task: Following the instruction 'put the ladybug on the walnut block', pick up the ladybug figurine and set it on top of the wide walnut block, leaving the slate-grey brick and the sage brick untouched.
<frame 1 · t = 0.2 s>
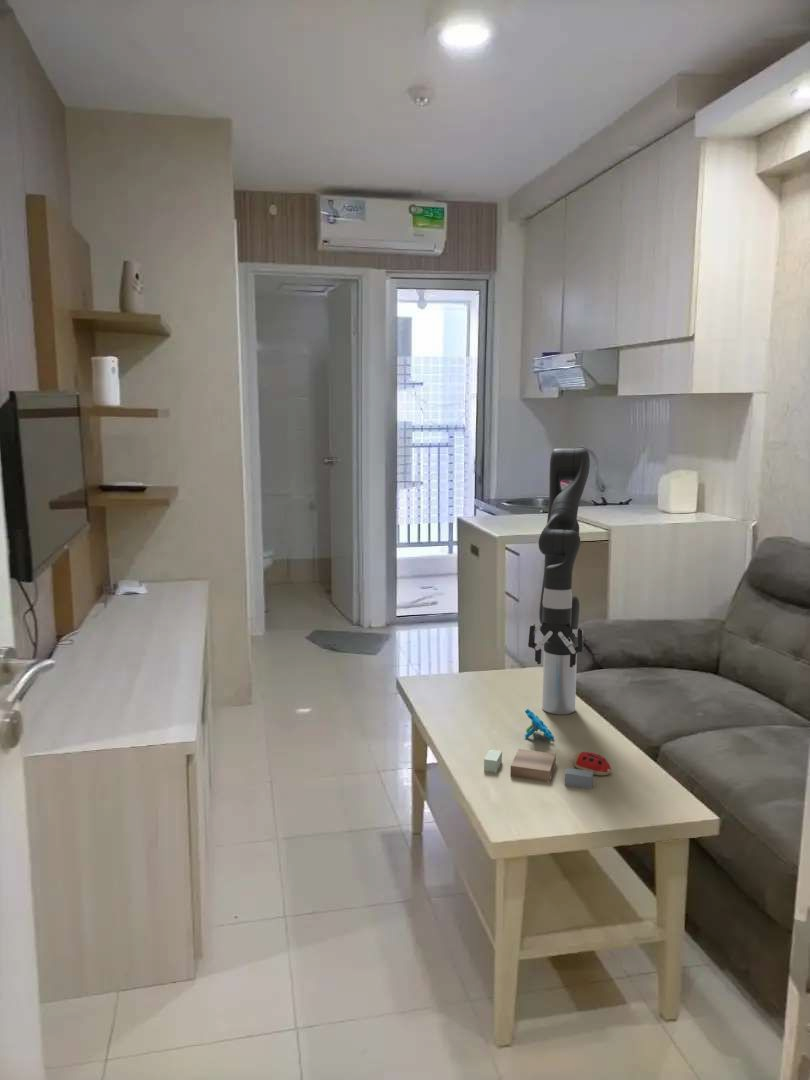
hand: (555, 665, 211), 17 cm above the table, tool pointing down, fingers open, 8 cm apart
sage brick: (492, 766, 190), on the table
slate brick: (578, 784, 181), on the table
walnut block: (533, 771, 188), on the table
gear: (538, 738, 208), on the table
ladybug figurine: (591, 770, 189), on the table
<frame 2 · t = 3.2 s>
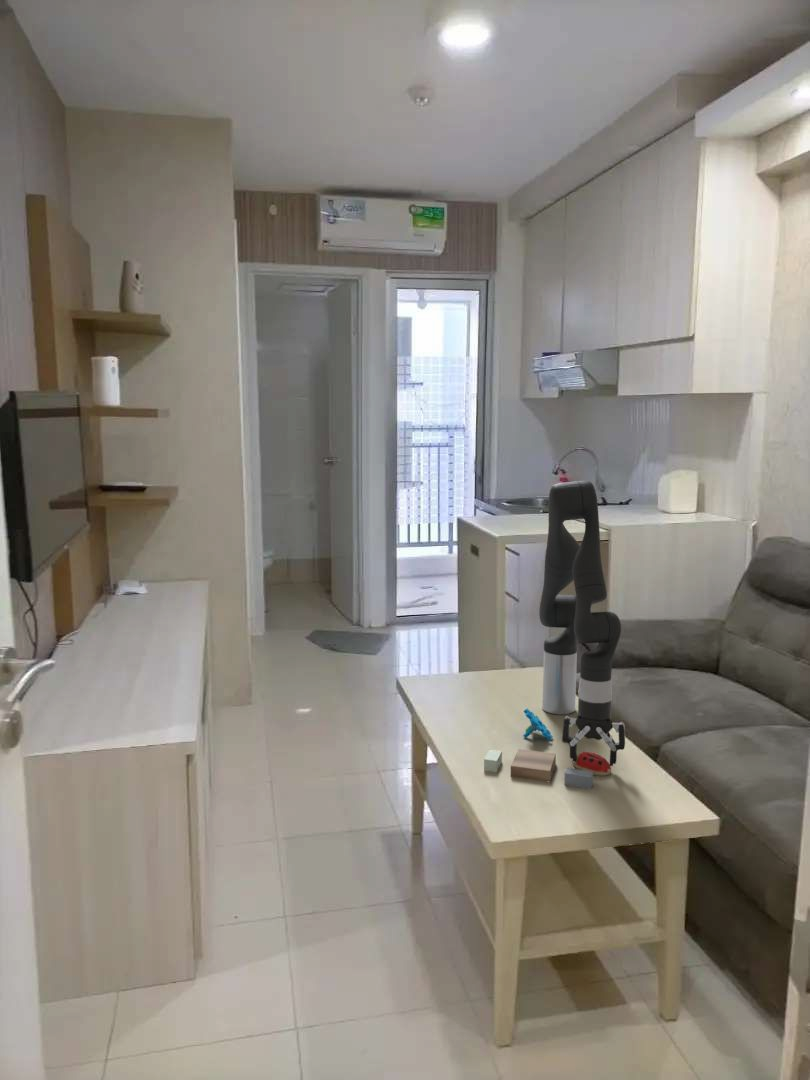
hand: (592, 762, 188), 2 cm above the table, tool pointing down, fingers open, 8 cm apart
ladybug figurine: (591, 770, 189), on the table, touching gripper
everything else where it was.
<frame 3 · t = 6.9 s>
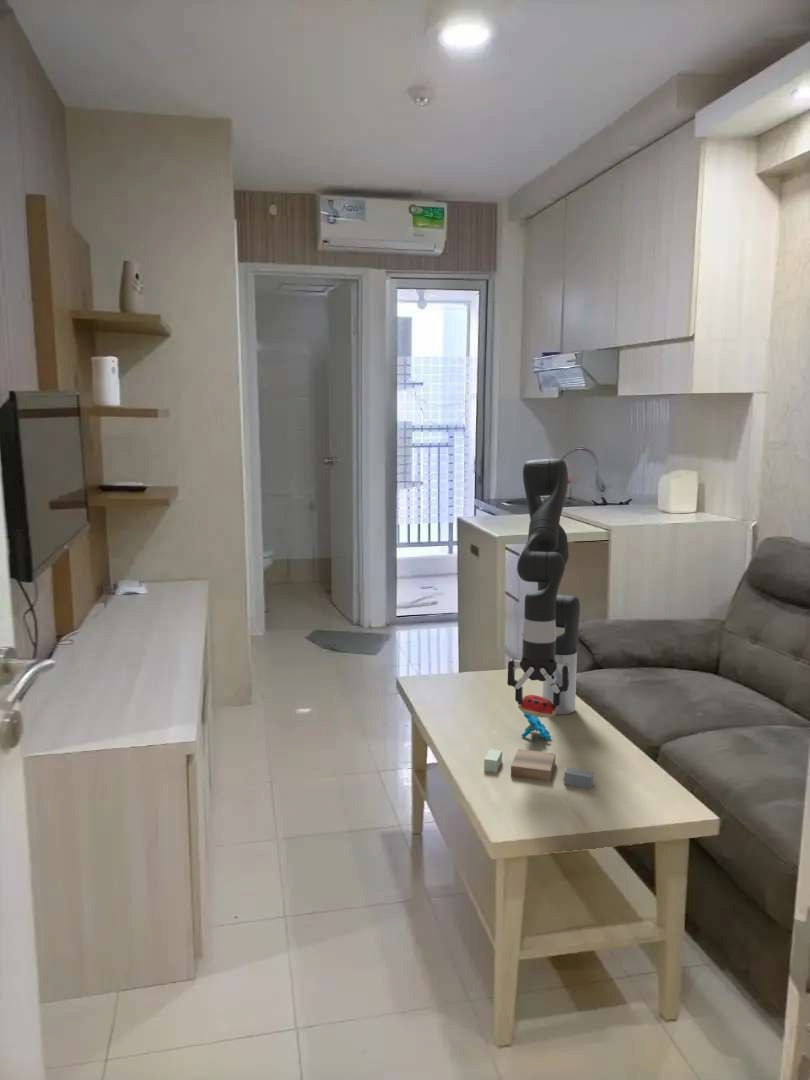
hand: (537, 705, 186), 16 cm above the table, tool pointing down, fingers closed on ladybug figurine, 7 cm apart
ladybug figurine: (536, 713, 187), point 14 cm above the table, touching gripper
everything else where it was.
when the fingers open (5 cm above the table, at t = 9.1 s): ladybug figurine moves 1 cm, resting on walnut block.
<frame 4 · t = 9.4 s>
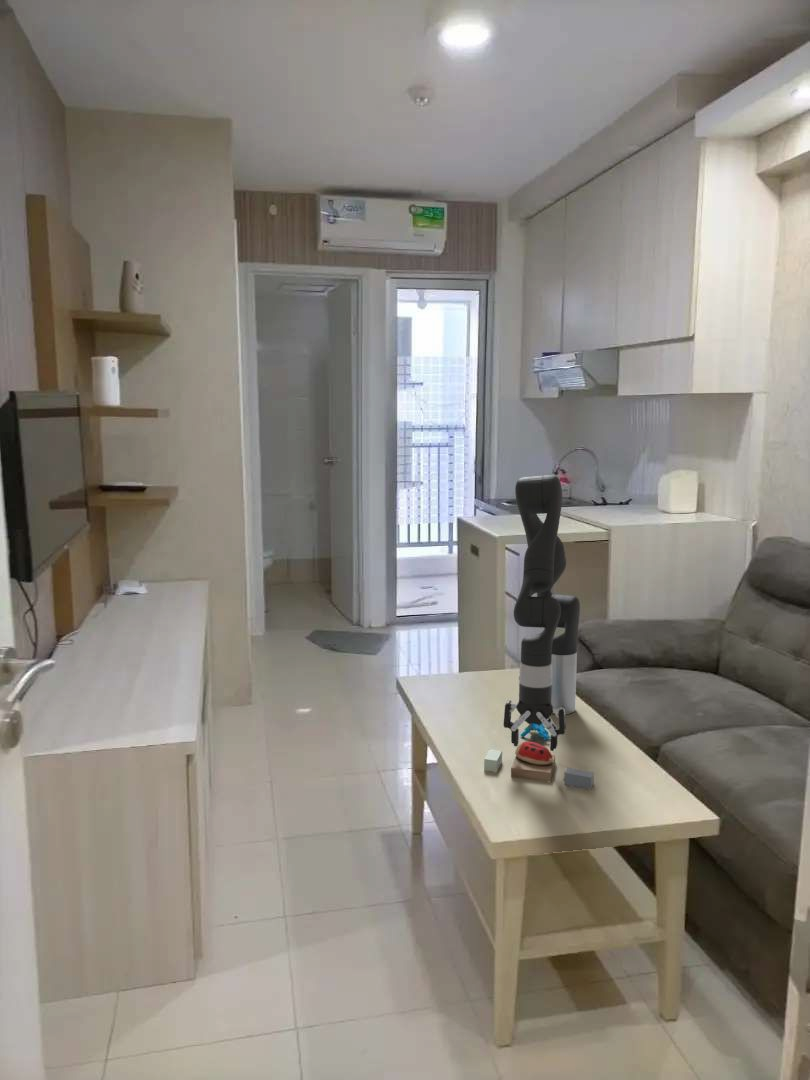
hand: (533, 747, 187), 6 cm above the table, tool pointing down, fingers open, 8 cm apart
walnut block: (533, 773, 188), on the table, touching ladybug figurine
ladybug figurine: (533, 760, 189), point 2 cm above the table, touching walnut block
everything else where it was.
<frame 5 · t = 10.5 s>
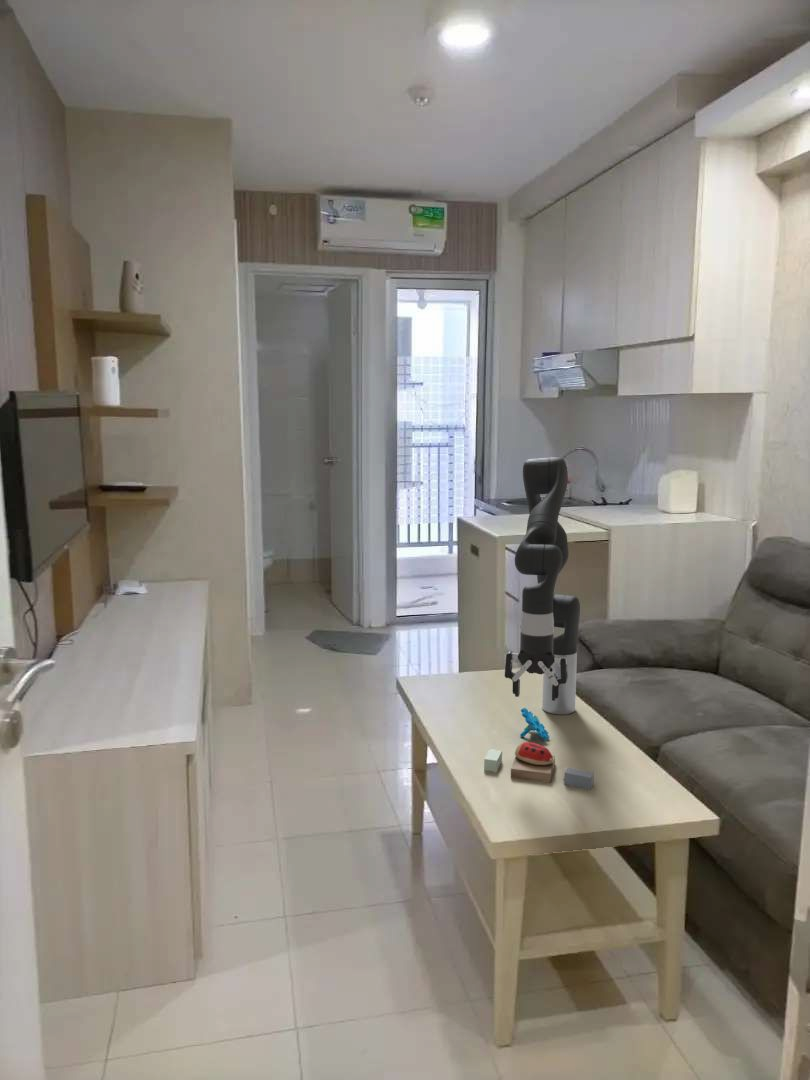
hand: (535, 697, 186), 18 cm above the table, tool pointing down, fingers open, 8 cm apart
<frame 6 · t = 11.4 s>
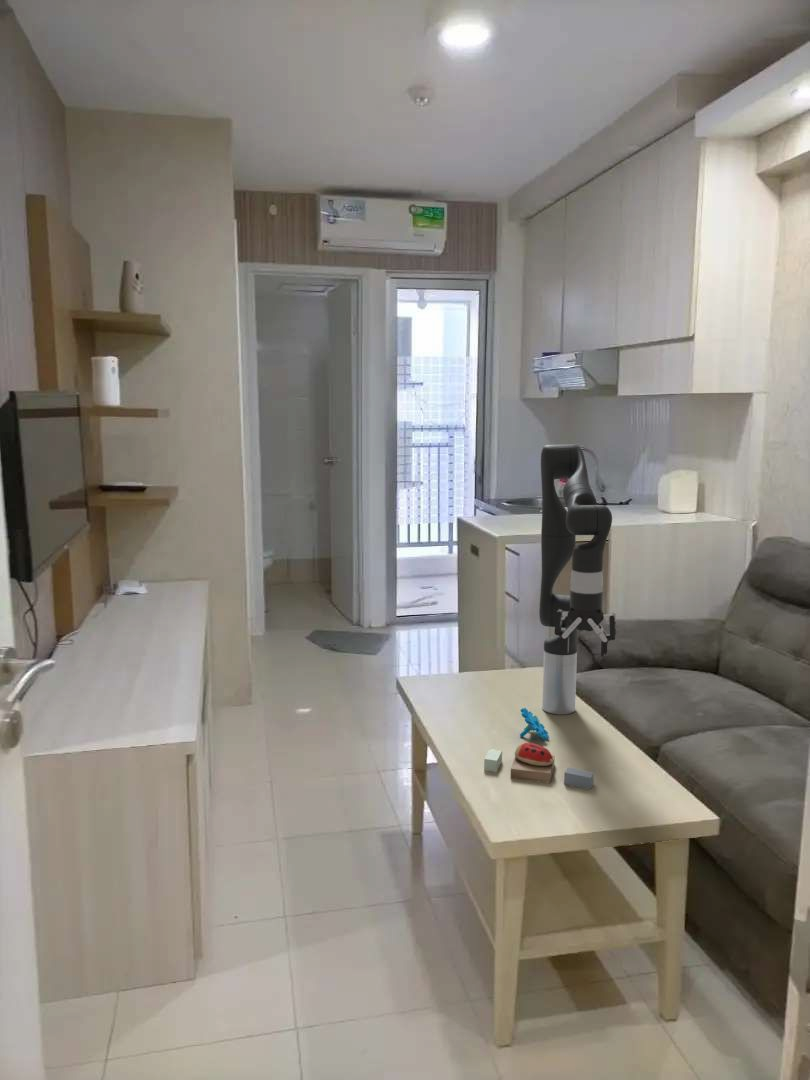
hand: (584, 654, 192), 26 cm above the table, tool pointing down, fingers open, 8 cm apart
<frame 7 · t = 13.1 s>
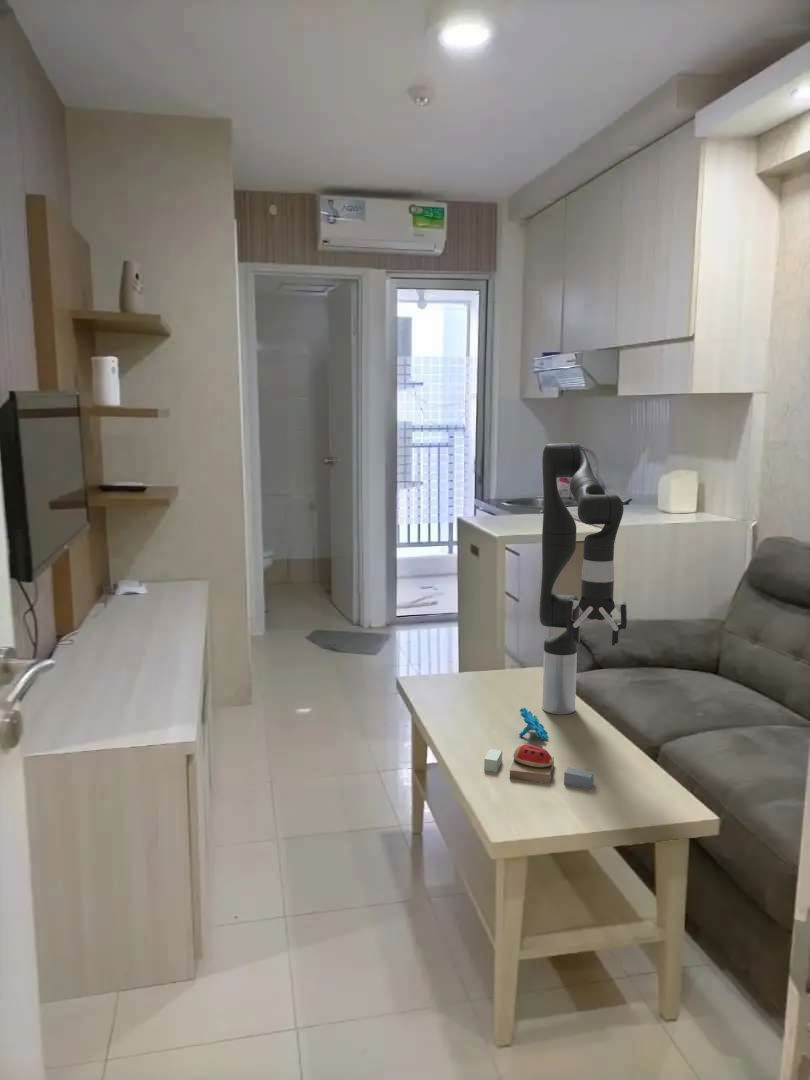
hand: (595, 643, 193), 28 cm above the table, tool pointing down, fingers open, 8 cm apart
at the end: ladybug figurine 0.7 cm off-centre on the walnut block, point 2.8 cm above the walnut block's base; slate brick moved 0.2 cm from its start; sage brick moved 0.3 cm from its start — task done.
